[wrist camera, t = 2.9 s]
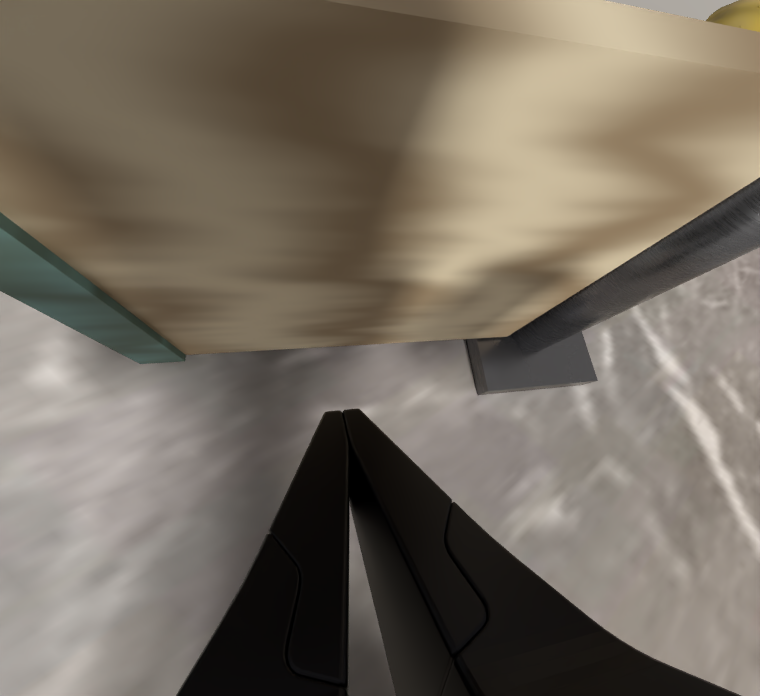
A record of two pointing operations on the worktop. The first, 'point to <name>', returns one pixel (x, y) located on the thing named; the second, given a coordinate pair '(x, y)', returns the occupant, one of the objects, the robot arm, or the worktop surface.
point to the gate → (351, 162)
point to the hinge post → (614, 300)
